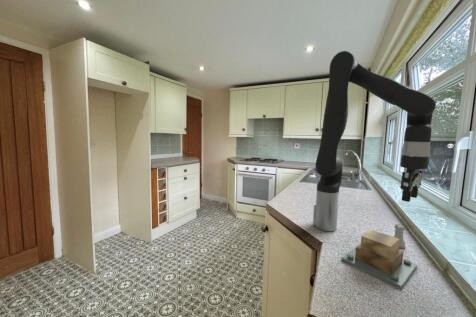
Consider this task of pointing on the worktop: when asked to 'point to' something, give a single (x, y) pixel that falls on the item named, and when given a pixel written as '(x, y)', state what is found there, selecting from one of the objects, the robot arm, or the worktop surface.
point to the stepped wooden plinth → (380, 251)
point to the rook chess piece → (399, 234)
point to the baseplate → (394, 279)
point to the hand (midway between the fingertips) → (409, 199)
